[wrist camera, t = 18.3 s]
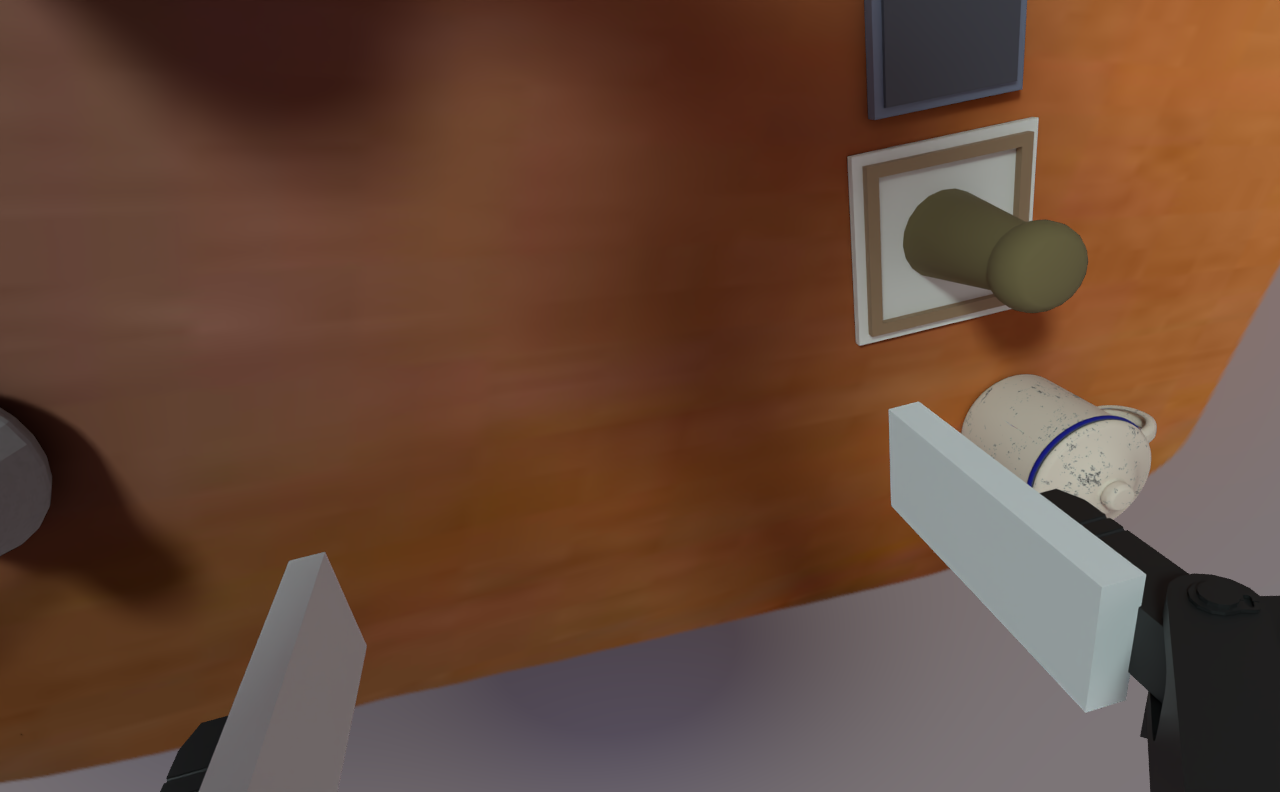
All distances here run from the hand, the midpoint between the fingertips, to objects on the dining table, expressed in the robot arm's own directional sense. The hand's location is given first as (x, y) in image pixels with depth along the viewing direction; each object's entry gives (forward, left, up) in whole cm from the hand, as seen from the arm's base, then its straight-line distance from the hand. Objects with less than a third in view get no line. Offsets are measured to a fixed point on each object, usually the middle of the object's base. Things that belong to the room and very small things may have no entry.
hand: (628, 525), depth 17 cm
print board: (+6, +27, -32) cm, 42 cm away
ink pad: (-8, +27, -32) cm, 42 cm away
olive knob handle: (+5, +27, -31) cm, 42 cm away
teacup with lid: (+22, +34, -32) cm, 52 cm away
